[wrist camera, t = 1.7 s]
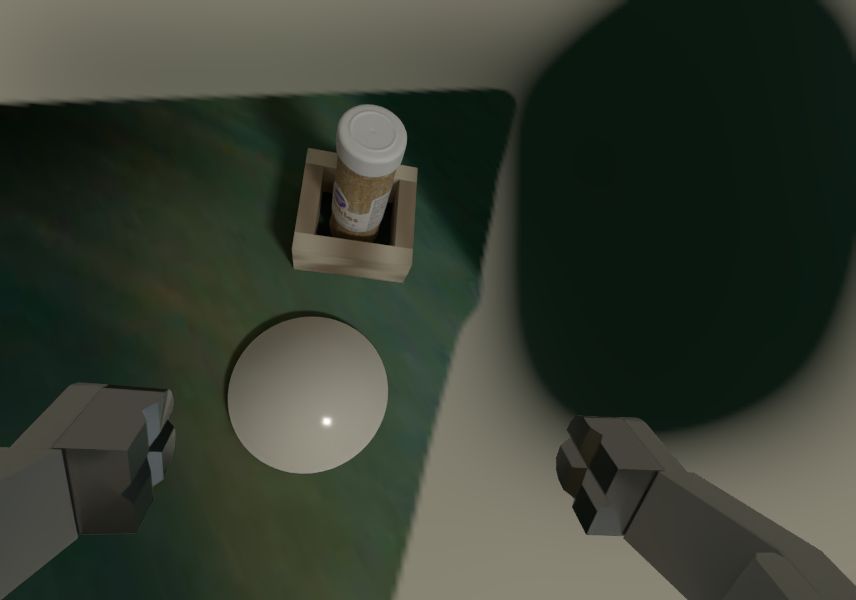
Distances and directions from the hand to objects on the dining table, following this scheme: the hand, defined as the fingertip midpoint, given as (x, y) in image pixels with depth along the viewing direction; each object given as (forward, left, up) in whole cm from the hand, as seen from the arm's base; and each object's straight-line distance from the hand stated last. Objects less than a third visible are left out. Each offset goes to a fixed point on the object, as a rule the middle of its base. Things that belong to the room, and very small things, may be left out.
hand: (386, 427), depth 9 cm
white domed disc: (-2, +4, -28) cm, 28 cm away
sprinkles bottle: (0, +19, -28) cm, 34 cm away
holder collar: (0, +19, -28) cm, 34 cm away
